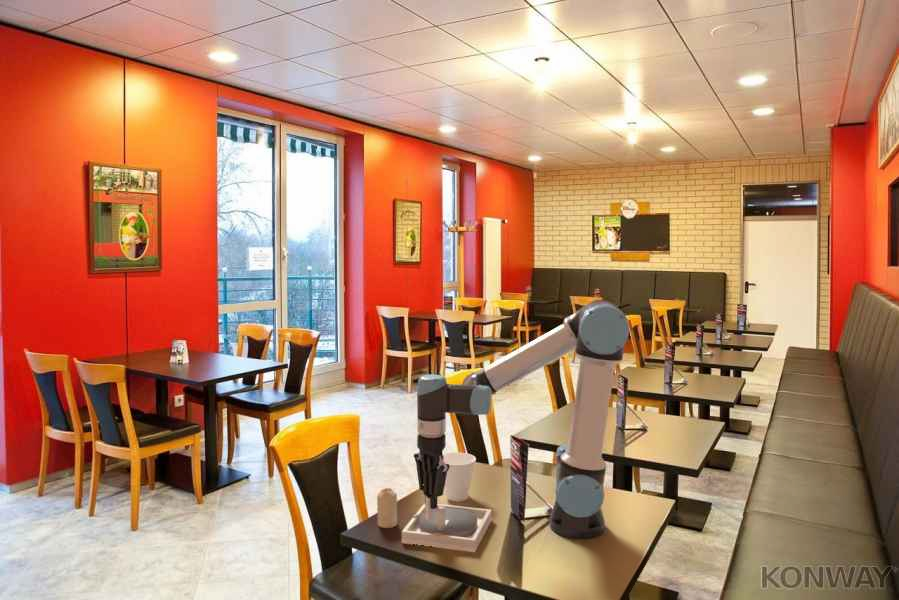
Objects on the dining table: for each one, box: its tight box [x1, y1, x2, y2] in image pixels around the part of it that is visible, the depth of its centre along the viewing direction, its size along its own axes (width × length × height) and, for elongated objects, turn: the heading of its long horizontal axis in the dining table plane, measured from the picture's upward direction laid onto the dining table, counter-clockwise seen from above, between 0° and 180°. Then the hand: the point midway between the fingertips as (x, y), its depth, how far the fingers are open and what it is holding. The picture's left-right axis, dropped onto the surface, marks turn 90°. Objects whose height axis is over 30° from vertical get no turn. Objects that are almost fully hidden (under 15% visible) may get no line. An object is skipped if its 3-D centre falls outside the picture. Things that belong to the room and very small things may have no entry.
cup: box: [443, 452, 477, 502], centre depth 208 cm, size 12×12×12 cm
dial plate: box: [401, 502, 492, 553], centre depth 184 cm, size 20×20×4 cm
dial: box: [419, 506, 477, 537], centre depth 184 cm, size 16×16×8 cm
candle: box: [376, 487, 398, 529], centre depth 189 cm, size 6×6×10 cm
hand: (430, 518), depth 179 cm, fingers closed
